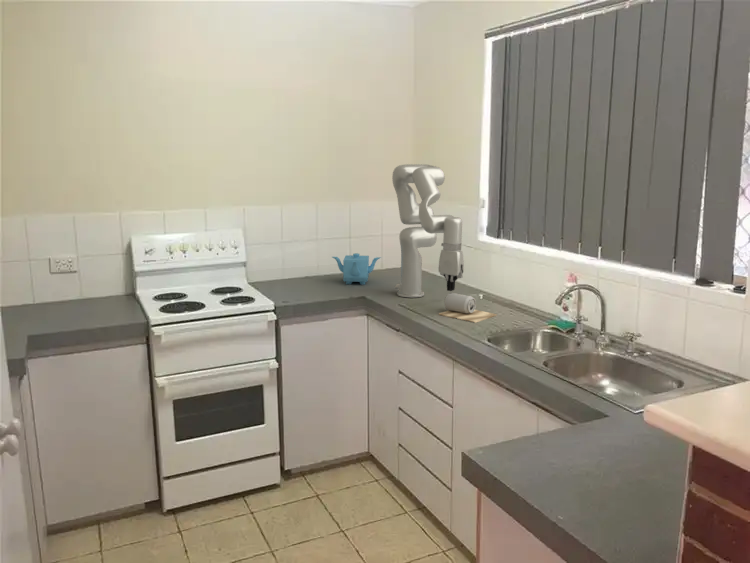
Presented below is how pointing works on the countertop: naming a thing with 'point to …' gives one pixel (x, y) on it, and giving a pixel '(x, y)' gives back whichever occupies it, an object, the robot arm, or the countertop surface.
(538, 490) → the countertop surface
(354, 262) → the teakettle
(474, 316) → the mat
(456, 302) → the can
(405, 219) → the robot arm
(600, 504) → the countertop surface
